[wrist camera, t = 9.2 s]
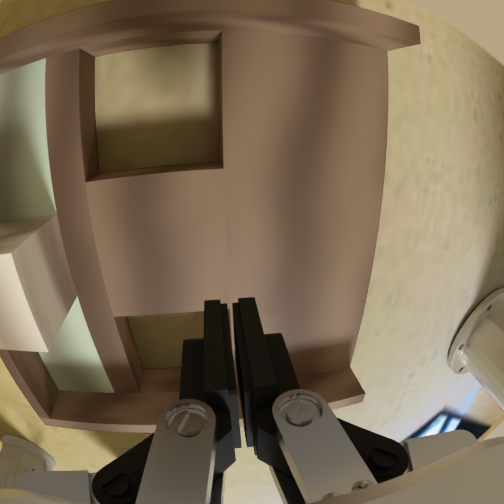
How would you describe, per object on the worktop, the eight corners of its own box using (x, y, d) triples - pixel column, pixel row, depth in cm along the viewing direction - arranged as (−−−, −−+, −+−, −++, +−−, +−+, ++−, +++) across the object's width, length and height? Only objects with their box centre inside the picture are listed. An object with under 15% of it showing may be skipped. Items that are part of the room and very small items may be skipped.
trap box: (364, 42, 15) (418, 26, 10) (336, 355, 25) (362, 401, 20) (-10, 76, 11) (-63, 73, 6) (61, 376, 21) (45, 424, 16)
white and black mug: (-9, 430, 23) (-33, 514, 10) (65, 441, 25) (50, 550, 12) (25, 463, 27) (11, 539, 14) (98, 473, 29) (94, 565, 15)
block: (57, 213, 14) (11, 253, 9) (77, 296, 16) (49, 352, 11) (-8, 224, 13) (-57, 261, 8) (14, 298, 15) (-20, 347, 10)
